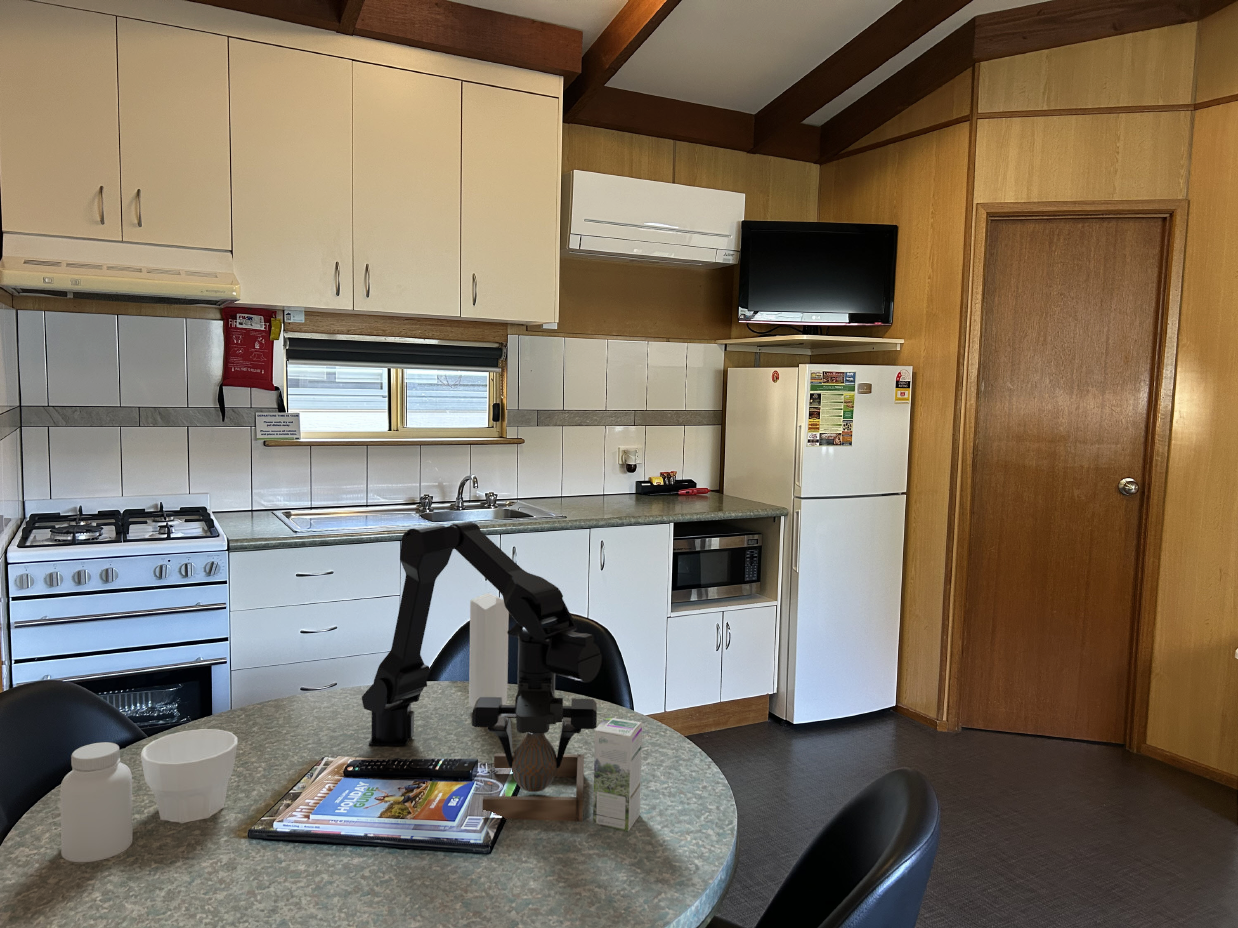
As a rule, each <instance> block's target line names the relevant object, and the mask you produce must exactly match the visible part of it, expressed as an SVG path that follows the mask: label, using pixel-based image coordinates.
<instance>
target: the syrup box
mask: <svg viewBox="0 0 1238 928" xmlns="http://www.w3.org/2000/svg"><path fill="white" fill-rule="evenodd" d="M593 744H594V749H593V750H594V753H593V757H594V758H593V789H592V790H593V794H592V795H593V797H592V798H593V799H592V800H593V802H592V805H593V806H592V824H593V825H598V826H602V827H607V828H612V829H616V830H621V831H626V832H629V831H630V830H631V828H632V827H633V826H634V824H635V822H636V821H637V819H638V818H639V817H640V816H641V815H640V814H641V783H642V782H641V779H642V774H641V773H642V755H643V754H642V751H643V722H641V721H640V722H639V721H635V720H628V719H621V718H615V717H605V718H604V719H603V720H602V721H601V722H600V723H599V724H598V725H597V726H596V728H594V741H593Z"/></svg>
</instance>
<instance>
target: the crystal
mask: <svg viewBox="0 0 1238 928" xmlns="http://www.w3.org/2000/svg"><path fill="white" fill-rule="evenodd" d="M469 603H470V604H469V605H470V606H469V608H470V609H469V611H470V612H469V613H470V614H469V618H470V619H469V673H468V674H469V677H468V679H469V685H468V689H469V690H468V692H469V693H468V704H469V706H470V707H471V708H472V709H473V708H474V706H475V703H476V701H477V700H478V699H479V698H480V697H502V705H507V702H508V678H509V677H508V668H509V664H508V663H509V635H508V633H507V632H508V630H509V617H510V615H509V614H510V613H509V611H508V610H507V609H506V607H505V604H504V599H503V598H501V597H499V596H497V595H495V594H493V593H490V592H487V593H484V594H482V595H478V596H476V597H475V598H473V599H471V600H470V601H469Z"/></svg>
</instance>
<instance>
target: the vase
mask: <svg viewBox="0 0 1238 928" xmlns="http://www.w3.org/2000/svg"><path fill="white" fill-rule="evenodd" d="M513 754H514V755H513V759H512V772H513V775H512V776H513V779H514V781H515V783H516V784H517V785H518V786H519V788H521V789H522V790H523V791H525V792H526V791H527V792H530V793H531V792H532V793H537V792H541V791H544V790H546V789H547V788H548V787H550V785H551V784H552V782H553V781H554V779H555V778H556V777H555V774H556V770H557V757H556V754H557V752H556V749H555V748H554V746H553V745H552V743H551V742H550V740H549V739H548V738H547V737H546V733H544V734H539V733H537V732H527V733H525V736H524V737H523V739H521V741H520V742H519V743H518V744H517V746H516V747H515V750H514V751H513Z"/></svg>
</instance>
